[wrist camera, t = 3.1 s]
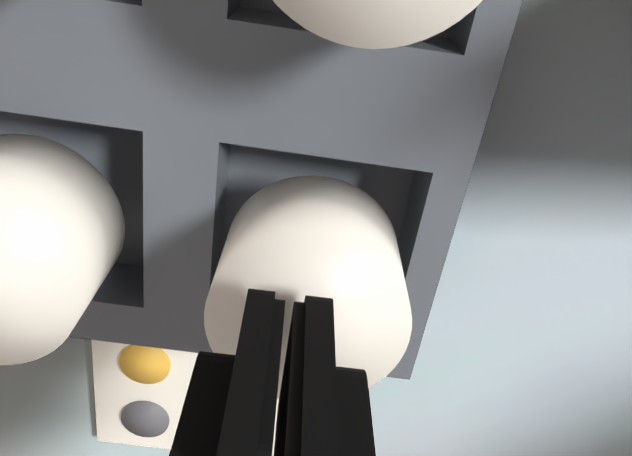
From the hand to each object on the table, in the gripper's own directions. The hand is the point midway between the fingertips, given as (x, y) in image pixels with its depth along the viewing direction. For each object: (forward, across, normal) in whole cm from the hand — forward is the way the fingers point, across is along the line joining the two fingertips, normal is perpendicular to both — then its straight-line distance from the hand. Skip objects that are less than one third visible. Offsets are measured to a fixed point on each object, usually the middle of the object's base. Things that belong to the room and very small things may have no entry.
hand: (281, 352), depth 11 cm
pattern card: (+7, +3, +8) cm, 11 cm away
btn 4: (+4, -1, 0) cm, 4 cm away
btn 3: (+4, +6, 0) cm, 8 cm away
